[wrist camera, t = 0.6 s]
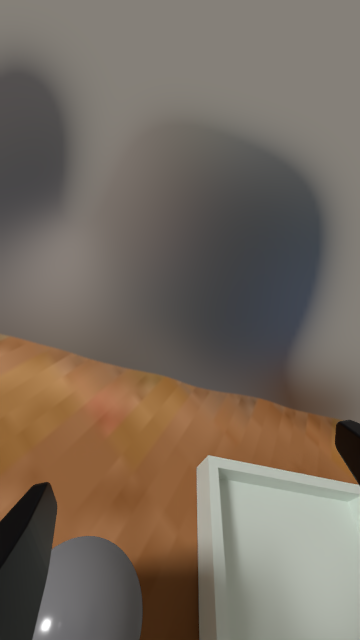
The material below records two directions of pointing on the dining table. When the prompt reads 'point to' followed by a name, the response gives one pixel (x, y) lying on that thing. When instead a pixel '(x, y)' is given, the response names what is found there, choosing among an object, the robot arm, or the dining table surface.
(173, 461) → the dining table surface
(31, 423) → the dining table surface
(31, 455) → the dining table surface
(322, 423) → the dining table surface
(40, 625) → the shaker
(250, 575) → the tray
